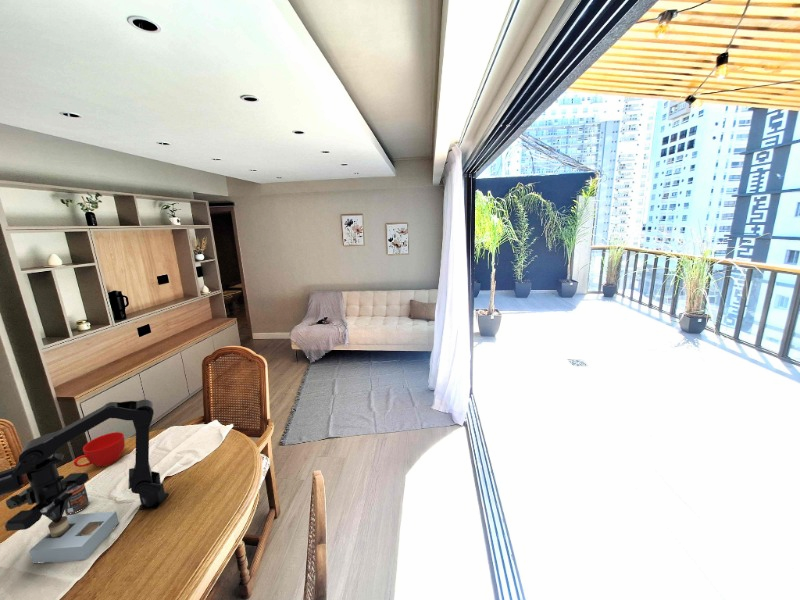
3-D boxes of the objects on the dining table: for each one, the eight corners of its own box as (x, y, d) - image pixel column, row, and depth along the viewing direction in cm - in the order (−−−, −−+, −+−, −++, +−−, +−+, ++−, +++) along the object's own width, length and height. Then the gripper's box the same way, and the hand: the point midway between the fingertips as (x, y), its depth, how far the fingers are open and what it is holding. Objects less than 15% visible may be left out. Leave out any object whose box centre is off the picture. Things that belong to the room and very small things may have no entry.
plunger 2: (105, 532, 99) (102, 521, 98) (93, 544, 95) (90, 533, 94) (92, 533, 99) (89, 522, 98) (80, 545, 95) (77, 534, 94)
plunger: (73, 526, 98) (70, 515, 97) (61, 538, 94) (57, 527, 93) (60, 527, 98) (57, 516, 97) (47, 539, 94) (44, 528, 93)
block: (119, 523, 103) (116, 511, 102) (85, 559, 92) (81, 546, 91) (73, 527, 103) (69, 514, 102) (33, 564, 91) (28, 550, 90)
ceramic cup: (68, 475, 126) (62, 454, 124) (116, 449, 142) (111, 430, 140) (88, 482, 122) (82, 460, 120) (135, 453, 138) (130, 434, 136)
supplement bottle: (74, 516, 107) (66, 489, 104) (61, 513, 108) (53, 487, 106) (93, 502, 112) (86, 476, 110) (81, 500, 114) (74, 474, 111)
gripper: (49, 459, 101) (61, 498, 104) (-24, 507, 83) (-7, 553, 86) (84, 457, 101) (95, 496, 105) (19, 504, 83) (34, 550, 86)
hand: (57, 521), depth 95 cm, fingers closed
